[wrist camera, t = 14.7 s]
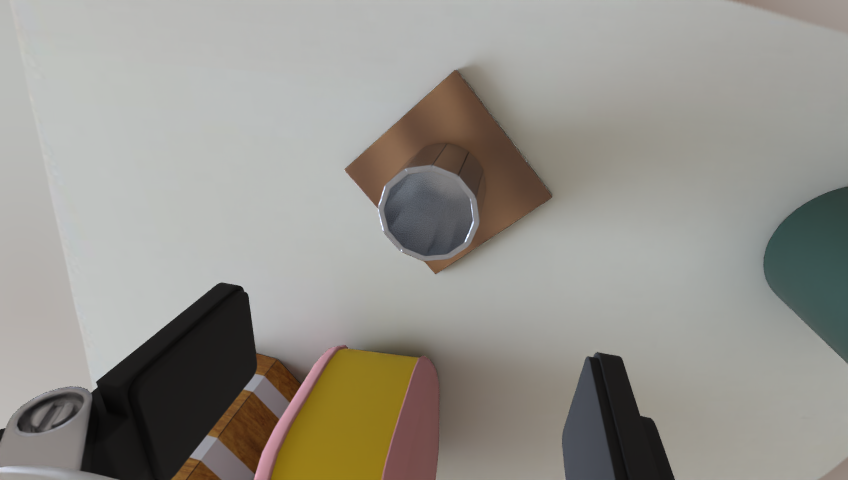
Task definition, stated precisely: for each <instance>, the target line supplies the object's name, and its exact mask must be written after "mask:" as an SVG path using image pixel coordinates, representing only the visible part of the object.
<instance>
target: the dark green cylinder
mask: <svg viewBox="0 0 848 480" xmlns="http://www.w3.org/2000/svg"><path fill="white" fill-rule="evenodd" d="M764 273H765V277H766V280H767V282H768V284H769V286H770V288H771V289H772V290H773V292H774V293H775V294H776V295H777V296H778V297H779V298H780V299H781V300H782V301H783V302H784V303H785V304H786V305H787V306H788V307H789V308H791V309H792V310H793V311H794V312H795V313H796V314H797V315H798V316H799V317H800V318H801V319H802V320H803V321H804V322H805V323H806V324H807V325H808V326H809V327H810V328H811V329H812V330H813V331H814V332H815V333H816V334H817V335H818V336H820V337H821V338H822V339H823V340H824V341H825V342H826V343H827V344H828V345H829V346H830V347H831V348H832V349H833V350H834V351H835V352H836V353H837V354H838V355H839V356H840V357H841V358H842V359H843V360H844V361H845V362H846V363H847V364H848V187H845V188H841V189H837V190H834V191H831V192H828V193H826V194H823V195H821V196H819V197H817V198H815V199H813V200H811V201H809V202H808V203H806V204H804V205H803V206H801V207H800V208H798V209H797V210H796V211H794V212H793V213H792V214H791V215H790V216H789V217H787V218H786V219H785V220H784V221H783V223H782V224H781V225H780V226H779V227H778V228H777V230H776V231H775V233H774V234H773V236H772V237H771V239H770V241H769V243H768V246H767V248H766V251H765V256H764Z"/></svg>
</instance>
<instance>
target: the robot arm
mask: <svg viewBox="0 0 848 480" xmlns="http://www.w3.org/2000/svg"><path fill="white" fill-rule="evenodd" d="M256 370H257V357H256V349H255V342H254V334H253V327H252V320H251V312H250V305H249V297H248V294H247V293H246V292H244V289H243V288H242V287H241V286H238V285H233V284H227V283H219V284H217V285H216V286H214V287H213V288H212V289H211V290H209V291H208V292H207V293H206V294H205V295H203V296H202V297H201V298H200V299H198V300H197V301H196V302H195V303H193V304H192V305H191V306H190V307H188V308H187V309H186V310H185V311H183V312H182V313H181V314H180V315H178V316H177V317H176V318H175V319H173V320H172V321H171V322H170V323H169V324H167V325H166V326H165V327H164V328H162V329H161V330H160V331H159V332H157V333H156V334H155V335H154V336H152V337H151V338H150V339H149V340H147V341H146V342H145V343H144V344H142V345H141V346H140V347H139V348H137V349H136V350H135V351H134V352H133V353H131V354H130V355H129V356H128V357H126V358H125V359H124V360H123V361H121V362H120V363H119V364H118V365H116V366H115V367H114V368H113V369H111V370H110V371H109V372H108V373H106V374H105V375H104V376H103V377H101V378H100V379H99V380H98V381H96V383H97V386H98V388H96V389H95V390H94V391H93V392H92V393H90V392H89V391H88V390H87V389H85V388H82V387H65V388H58V389H55V390H52V391H49V392H46V393H43V394H41V395H39V396H37V397H35V398H33V399H32V400H30V401H28V402H27V403H26V404H24V405H23V406H21V407H20V408H19V409H18V410H17V411H16V412H15V413H14V414H13V415H12V417H11V418H10V420H9V422H8V424H7V426H6V428H4V429H1V430H0V480H171V479H172V478H173V477H174V476H175V475H176V474H177V472H178V471H179V470H180V469H181V467H182V466H183V465H184V464H185V462H186V461H187V460H188V459H189V457H190V456H191V455H192V453H193V452H194V451H195V450H196V448H197V447H198V446H199V445H200V443H201V442H202V441H203V440H204V438H205V437H206V436H207V435H208V433H209V432H210V431H211V430H212V428H213V427H214V426H215V425H216V423H217V422H218V421H219V419H220V418H221V417H222V416H223V414H224V413H225V412H226V411H227V409H228V408H229V407H230V406H231V404H232V403H233V402H234V401H235V399H236V398H237V397H238V396H239V394H240V393H241V392H242V390H243V389H244V388H245V387H246V385H247V384H248V383H249V382H250V380H251V379H252V378H253V376H254V375H255V373H256ZM562 448H563V457H564V467H565V477H566V480H675V479H674V476H673V473H672V470H671V467H670V464H669V461H668V459H667V456H666V453H665V450H664V447H663V444H662V441H661V439H660V436H659V433H658V430H657V427H656V425H655V423H654V421H653V420H652V419H651V418H648V417H643V416H640V414H639V410H638V407H637V404H636V401H635V398H634V395H633V392H632V388H631V385H630V382H629V379H628V376H627V373H626V369H625V366H624V363H623V360H622V358H621V357H620V356H615V355H609V354H604V353H599V352H597V353H595V355H594V357H587V358H586V359H585V362H584V366H583V369H582V372H581V375H580V378H579V382H578V385H577V388H576V391H575V394H574V398H573V401H572V404H571V407H570V410H569V414H568V417H567V420H566V423H565V426H564V430H563V436H562Z"/></svg>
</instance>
